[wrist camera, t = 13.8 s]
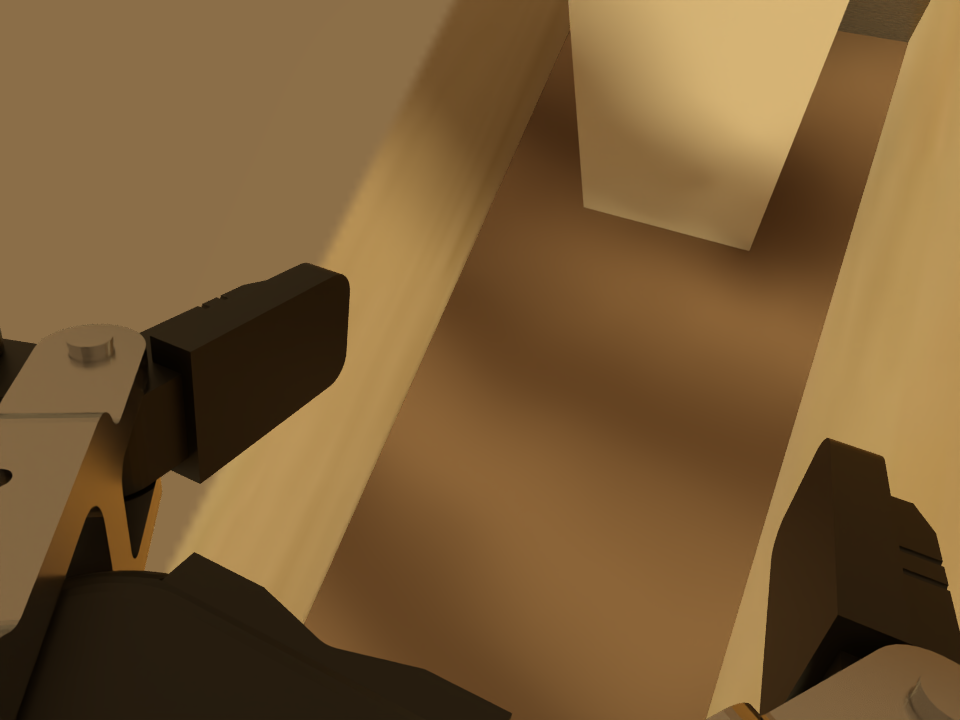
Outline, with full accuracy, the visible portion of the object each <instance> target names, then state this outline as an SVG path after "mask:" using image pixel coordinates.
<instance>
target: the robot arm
mask: <svg viewBox="0 0 960 720" xmlns="http://www.w3.org/2000/svg"><path fill="white" fill-rule="evenodd" d="M349 298H350V286H349V282H348V279H347V278H346V277H345V276H344V275H342V274H339V273H336V272H333V271H330V270H327V269H324V268H321V267H318V266H315V265H313V264H310V263H303V264H300V265H298V266H296V267H294V268H291V269H289V270H287V271H285V272H283V273H281V274H279V275H277V276H274V277H272V278H270V279H268V280H266V281H261V282H256V283H251V284H247V285H243V286H240V287H238V288H236V289H234V290H232V291H229V292H227V293H225V294H223V295H221V298H220V299H219V298H214V299H212V300H210V301H208V302H206V303H204V304H202V307H198V306H197V307H195V308H193V309H191V310H189V311H186V312H184V313H182V314H180V315H178V316H175V317H173V318H171V319H169V320H167V321H165V322H162V323H160V324H158V325H156V326H154V327H152V328H150V329H147V330H145V331H143V332H141V333H138V332H136V331H134V330H132V329H129V328H127V327H123V326H118V325H110V324H91V325H82V326H76V327H71V328H67V329H63V330H61V331H57V332H55V333H53V334H50V335H49V336H47V337H45V338H44V339H42V340H41V341H40V342H39V343H38V344H33V343H27V342H21V341H13V340H8V339H2V335H1V331H0V720H511V717H512V713H511V712H509V711H507V710H505V709H503V708H501V707H499V706H497V705H495V704H493V703H491V702H489V701H487V700H485V699H483V698H481V697H479V696H477V695H475V694H473V693H471V692H469V691H467V690H465V689H463V688H461V687H459V686H457V685H455V684H453V683H451V682H449V681H447V680H446V679H444V678H442V677H440V676H438V675H436V674H434V673H432V672H430V671H428V670H426V669H423V668H418V667H414V666H410V665H406V664H402V663H397V662H393V661H389V660H385V659H380V658H376V657H372V656H368V655H363V654H359V653H355V652H351V651H347V650H342V649H338V648H335V647H331V646H329V645H327V644H325V643H323V642H322V641H321V640H320V639H318V638H317V637H316V636H315V635H314V634H313V633H312V632H311V631H310V630H309V629H308V628H307V627H306V626H305V625H303V624H302V623H301V622H300V621H299V620H298V619H297V618H296V617H295V616H294V615H293V614H292V613H291V612H290V611H288V610H287V609H286V608H285V607H284V606H283V605H282V604H281V603H280V602H279V601H278V600H277V599H276V598H275V597H273V596H272V595H271V594H270V593H269V592H268V591H267V590H266V589H265V588H264V587H262V586H260V585H258V584H256V583H254V582H252V581H250V580H248V579H246V578H244V577H242V576H240V575H238V574H236V573H234V572H232V571H230V570H228V569H226V568H224V567H222V566H220V565H219V564H217V563H215V562H213V561H211V560H209V559H207V558H205V557H203V556H201V555H199V554H197V553H195V552H194V553H193V554H192V555H190V556H189V557H188V558H187V559H186V560H185V561H183V562H182V563H181V564H180V565H179V566H178V567H176V568H175V569H174V570H173V571H172V572H171V573H169V574H167V573H160V572H150V571H144V570H145V565H146V561H147V557H148V552H149V548H150V543H151V539H152V534H153V531H154V526H155V521H156V517H157V513H158V509H159V504H160V500H161V496H162V485H161V477H162V476H163V475H164V474H166V473H167V472H169V471H170V470H172V471H174V472H176V473H178V474H180V475H182V476H184V477H187V478H189V479H191V480H193V481H195V482H197V483H199V484H201V483H202V482H203V481H205V480H206V479H207V478H209V477H210V476H211V475H213V474H214V473H215V472H217V471H218V470H219V469H221V468H222V467H223V466H225V465H226V464H227V463H229V462H230V461H231V460H233V459H234V458H235V457H237V456H238V455H239V454H241V453H242V452H243V451H245V450H246V449H247V448H249V447H250V446H251V445H253V444H254V443H255V442H256V441H258V440H259V439H260V438H262V437H263V436H264V435H266V434H267V433H268V432H270V431H271V430H272V429H274V428H275V427H276V426H278V425H279V424H280V423H282V422H283V421H284V420H286V419H287V418H288V417H290V416H291V415H292V414H294V413H295V412H296V411H298V410H299V409H300V408H302V407H303V406H304V405H306V404H307V403H308V402H310V401H311V400H312V399H313V398H315V397H316V396H317V395H319V394H320V393H321V392H323V391H324V390H325V389H327V388H328V387H329V386H331V385H332V384H333V383H334V382H335V380H336V379H337V378H338V376H339V374H340V372H341V370H342V368H343V365H344V362H345V358H346V350H347V333H348V315H349ZM942 562H943V560H942V556H941V552H940V548H939V544H938V540H937V536H936V533H935V532H934V530H933V529H932V528H931V526H930V525H929V524H928V522H927V521H926V520H925V518H924V517H923V516H922V514H921V513H920V512H919V510H918V509H917V508H916V507H915V505H914V504H913V503H910V502H907V501H904V500H901V499H898V498H895V497H893V496H891V494H890V488H889V482H888V476H887V470H886V464H885V460H884V458H883V456H880V455H877V454H874V453H871V452H868V451H865V450H862V449H859V448H856V447H853V446H850V445H847V444H844V443H841V442H838V441H835V440H832V439H829V438H826V439H825V440H824V441H823V442H822V443H821V445H820V446H819V448H818V450H817V452H816V454H815V456H814V458H813V460H812V462H811V464H810V466H809V468H808V470H807V472H806V474H805V476H804V478H803V480H802V482H801V484H800V486H799V488H798V490H797V492H796V494H795V496H794V498H793V500H792V502H791V504H790V506H789V508H788V510H787V512H786V514H785V516H784V518H783V520H782V523H781V525H780V528H779V531H778V533H777V537H776V540H775V543H774V547H773V552H772V558H771V570H770V583H769V596H768V610H767V623H766V636H765V649H764V662H763V675H762V689H761V702H760V715H759V713H758V712H757V711H756V710H755V709H754V708H753V707H752V705H751V704H749V703H739V704H736V705H733V706H730V707H728V708H726V709H724V710H722V711H720V712H719V713H717V714H715V715H713V716H711V717H709V718H708V719H706V720H960V631H959V626H958V622H957V618H956V614H955V610H954V606H953V602H952V598H951V593H950V591H948V590H947V587H948V581H947V577H946V573H945V569H944V567H943V566H941V564H942Z"/></svg>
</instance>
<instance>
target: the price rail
mask: <svg viewBox="0 0 960 720" xmlns="http://www.w3.org/2000/svg"><path fill="white" fill-rule="evenodd" d="M929 2H930V0H849V3H848V5H847V8H846V10H845V13H844V15H843V18H842V20H841V23H840V25H839V28H838V30H837V31H843V32H849V33H854V34H860V35H866V36H872V37H878V38H884V39H890V40H896V41H902V42H908V41H909V39H910V38H911V36H912V34H913V32H914V30H915V28H916V26H917V25H918V23H919V21H920V19H921V17H922V15H923V13H924V12H925V10H926V8H927V6H928V4H929Z"/></svg>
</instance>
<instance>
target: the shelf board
mask: <svg viewBox="0 0 960 720" xmlns="http://www.w3.org/2000/svg"><path fill="white" fill-rule="evenodd" d="M907 45H908V42H902V41H896V40H890V39H884V38H878V37H872V36H866V35H860V34H854V33H849V32H843V31H837V33H836V35H835V38H834V40H833V43H832V45H831V48H830V50H829V53H828V55H827V58H826V60H825V63H824V65H823V68H822V70H821V73H820V75H819V78H818V80H817V83H816V85H815V88H814V90H813V93H812V95H811V98H810V100H809V103H808V105H807V108H806V110H805V113H804V115H803V118H802V120H801V123H800V125H799V128H798V130H797V133H796V135H795V138H794V140H793V143H792V145H791V148H790V150H789V153H788V155H787V158H786V160H785V163H784V165H783V168H782V170H781V173H780V175H779V178H778V180H777V183H776V185H775V188H774V190H773V193H772V195H771V198H770V200H769V203H768V205H767V208H766V210H765V213H764V215H763V218H762V220H761V223H760V225H759V228H758V230H757V233H756V235H755V238H754V240H753V243H752V245H751V248H750V250H749V251H747V250H743V249H739V248H736V247H732V246H728V245H724V244H721V243H717V242H713V241H709V240H706V239H702V238H698V237H694V236H691V235H687V234H683V233H679V232H675V231H672V230H668V229H664V228H660V227H657V226H653V225H649V224H645V223H642V222H638V221H634V220H630V219H626V218H623V217H619V216H615V215H611V214H608V213H604V212H600V211H596V210H593V209H589V208H585V207H584V204H583V191H582V178H581V164H580V151H579V138H578V125H577V112H576V98H575V85H574V72H573V59H572V45H571V32H570V31H569V33H568V35H567V38H566V40H565V42H564V44H563V47H562V49H561V51H560V53H559V56H558V58H557V60H556V62H555V64H554V67H553V69H552V71H551V73H550V76H549V78H548V80H547V82H546V85H545V87H544V89H543V91H542V94H541V96H540V98H539V100H538V102H537V105H536V107H535V109H534V111H533V114H532V116H531V118H530V120H529V123H528V125H527V127H526V129H525V132H524V134H523V136H522V138H521V141H520V143H519V145H518V147H517V149H516V152H515V154H514V156H513V158H512V161H511V163H510V165H509V167H508V170H507V172H506V174H505V176H504V179H503V181H502V183H501V185H500V187H499V190H498V192H497V194H496V196H495V199H494V201H493V203H492V205H491V208H490V210H489V212H488V214H487V217H486V219H485V221H484V223H483V226H482V228H481V230H480V232H479V234H478V237H477V239H476V241H475V243H474V246H473V248H472V250H471V252H470V255H469V257H468V259H467V261H466V264H465V266H464V268H463V270H462V273H461V275H460V277H459V279H458V281H457V284H456V286H455V288H454V290H453V293H452V295H451V297H450V299H449V302H448V304H447V306H446V308H445V311H444V313H443V315H442V317H441V319H440V322H439V324H438V326H437V328H436V331H435V333H434V335H433V337H432V340H431V342H430V344H429V346H428V349H427V351H426V353H425V355H424V358H423V360H422V362H421V364H420V366H419V369H418V371H417V373H416V375H415V378H414V380H413V382H412V384H411V387H410V389H409V391H408V393H407V396H406V398H405V400H404V402H403V404H402V407H401V409H400V411H399V413H398V416H397V418H396V420H395V422H394V425H393V427H392V429H391V431H390V434H389V436H388V438H387V440H386V443H385V445H384V447H383V449H382V451H381V454H380V456H379V458H378V460H377V463H376V465H375V467H374V469H373V472H372V474H371V476H370V478H369V481H368V483H367V485H366V487H365V489H364V492H363V494H362V496H361V498H360V501H359V503H358V505H357V507H356V510H355V512H354V514H353V516H352V519H351V521H350V523H349V525H348V528H347V530H346V532H345V534H344V536H343V539H342V541H341V543H340V545H339V548H338V550H337V552H336V554H335V557H334V559H333V561H332V563H331V566H330V568H329V570H328V572H327V575H326V577H325V579H324V581H323V583H322V586H321V588H320V590H319V592H318V595H317V597H316V599H315V601H314V604H313V606H312V608H311V610H310V613H309V615H308V617H307V619H306V621H305V624H304V625H305V626H306V627H307V628H308V629H309V630H310V631H311V632H312V633H313V634H314V635H315V636H316V637H317V638H318V639H320V640H321V641H322V642H323V643H325V644H327V645H329V646H331V647H335V648H338V649H342V650H347V651H351V652H355V653H359V654H363V655H368V656H372V657H376V658H380V659H385V660H389V661H393V662H397V663H402V664H406V665H410V666H414V667H418V668H423V669H426V670H428V671H430V672H432V673H434V674H436V675H438V676H440V677H442V678H444V679H446V680H447V681H449V682H451V683H453V684H455V685H457V686H459V687H461V688H463V689H465V690H467V691H469V692H471V693H473V694H475V695H477V696H479V697H481V698H483V699H485V700H487V701H489V702H491V703H493V704H495V705H497V706H499V707H501V708H503V709H505V710H507V711H509V712H511V713H512V717H511V720H706V716H707V713H708V710H709V706H710V703H711V700H712V696H713V693H714V690H715V686H716V683H717V680H718V676H719V673H720V670H721V666H722V663H723V659H724V656H725V653H726V649H727V646H728V643H729V639H730V636H731V633H732V629H733V626H734V623H735V619H736V616H737V613H738V609H739V606H740V603H741V599H742V596H743V593H744V589H745V586H746V583H747V579H748V576H749V573H750V569H751V566H752V563H753V559H754V556H755V553H756V549H757V546H758V543H759V539H760V536H761V533H762V529H763V526H764V523H765V519H766V516H767V512H768V509H769V506H770V502H771V499H772V496H773V492H774V489H775V486H776V482H777V479H778V476H779V472H780V469H781V466H782V462H783V459H784V456H785V452H786V449H787V446H788V442H789V439H790V436H791V432H792V429H793V426H794V422H795V419H796V416H797V412H798V409H799V406H800V402H801V399H802V396H803V392H804V389H805V386H806V382H807V379H808V376H809V372H810V369H811V365H812V362H813V359H814V355H815V352H816V349H817V345H818V342H819V339H820V335H821V332H822V329H823V325H824V322H825V319H826V315H827V312H828V309H829V305H830V302H831V299H832V295H833V292H834V289H835V285H836V282H837V279H838V275H839V272H840V269H841V265H842V262H843V259H844V255H845V252H846V249H847V245H848V242H849V239H850V235H851V232H852V229H853V225H854V222H855V218H856V215H857V212H858V208H859V205H860V202H861V198H862V195H863V192H864V188H865V185H866V182H867V178H868V175H869V172H870V168H871V165H872V162H873V158H874V155H875V152H876V148H877V145H878V142H879V138H880V135H881V132H882V128H883V125H884V122H885V118H886V115H887V112H888V108H889V105H890V102H891V98H892V95H893V92H894V88H895V85H896V82H897V78H898V75H899V71H900V68H901V65H902V61H903V58H904V55H905V51H906V48H907Z"/></svg>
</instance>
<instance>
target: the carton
mask: <svg viewBox="0 0 960 720" xmlns="http://www.w3.org/2000/svg"><path fill="white" fill-rule="evenodd" d="M848 3H849V0H568V6H569V19H570V32H571V45H572V59H573V72H574V85H575V98H576V112H577V125H578V138H579V151H580V164H581V178H582V191H583V204H584V207H585V208H589V209H593V210H596V211H600V212H604V213H608V214H611V215H615V216H619V217H623V218H626V219H630V220H634V221H638V222H642V223H645V224H649V225H653V226H657V227H660V228H664V229H668V230H672V231H675V232H679V233H683V234H687V235H691V236H694V237H698V238H702V239H706V240H709V241H713V242H717V243H721V244H724V245H728V246H732V247H736V248H739V249H743V250H747V251H749V250H750V248H751V245H752V243H753V240H754V238H755V235H756V233H757V230H758V228H759V225H760V223H761V220H762V218H763V215H764V213H765V210H766V208H767V205H768V203H769V200H770V198H771V195H772V193H773V190H774V188H775V185H776V183H777V180H778V178H779V175H780V173H781V170H782V168H783V165H784V163H785V160H786V158H787V155H788V153H789V150H790V148H791V145H792V143H793V140H794V138H795V135H796V133H797V130H798V128H799V125H800V123H801V120H802V118H803V115H804V113H805V110H806V108H807V105H808V103H809V100H810V98H811V95H812V93H813V90H814V88H815V85H816V83H817V80H818V78H819V75H820V73H821V70H822V68H823V65H824V63H825V60H826V58H827V55H828V53H829V50H830V48H831V45H832V43H833V40H834V38H835V35H836V33H837V30H838V28H839V25H840V23H841V20H842V18H843V15H844V13H845V10H846V8H847V5H848Z"/></svg>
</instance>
